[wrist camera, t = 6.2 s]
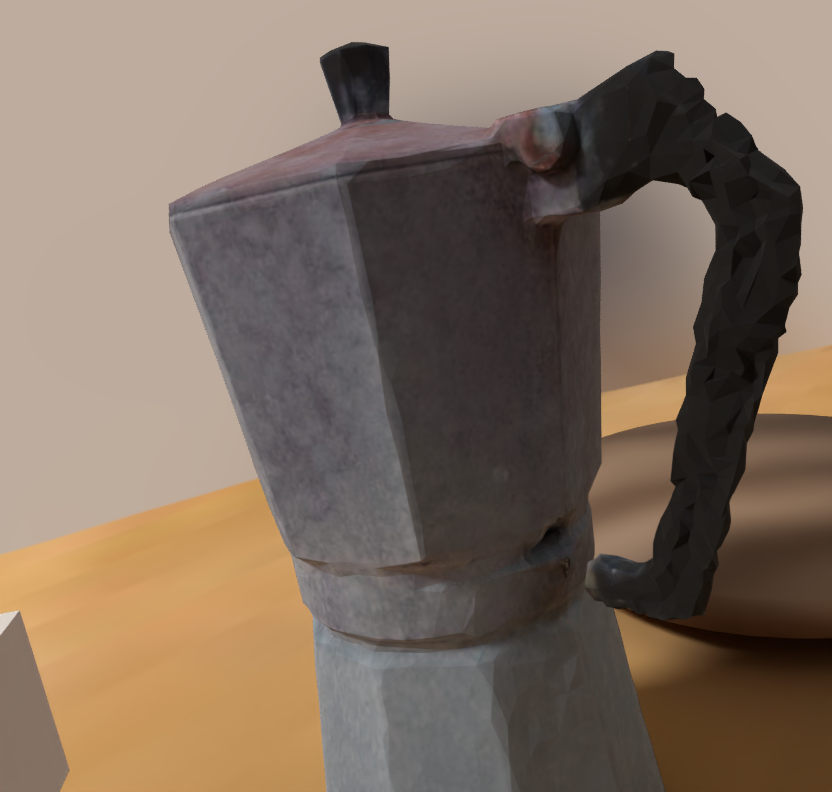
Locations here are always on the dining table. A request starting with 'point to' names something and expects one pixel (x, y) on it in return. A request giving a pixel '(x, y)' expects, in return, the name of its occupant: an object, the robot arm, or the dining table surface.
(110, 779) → the dining table surface
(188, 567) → the dining table surface
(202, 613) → the dining table surface
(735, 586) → the disc
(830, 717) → the dining table surface
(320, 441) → the moka pot
